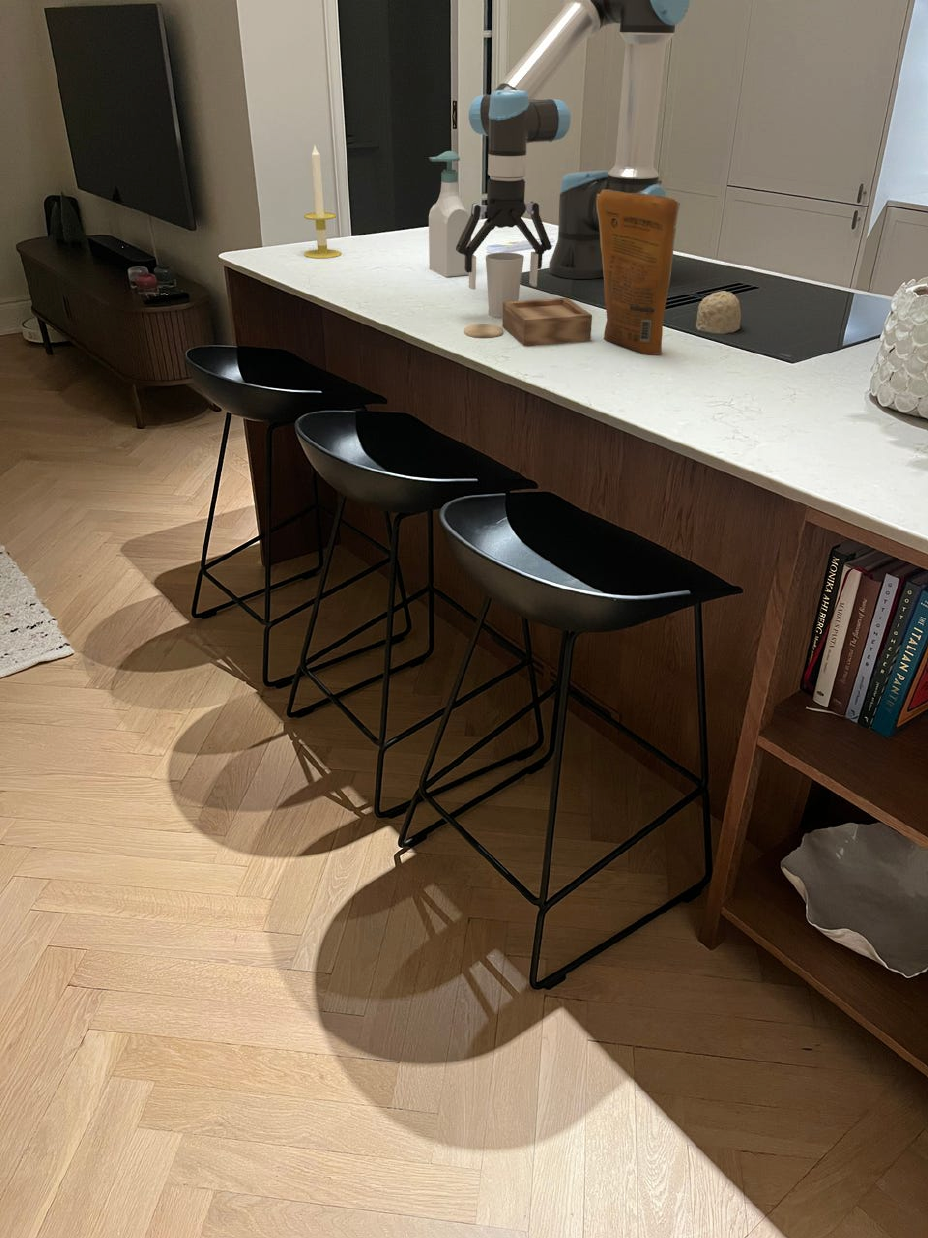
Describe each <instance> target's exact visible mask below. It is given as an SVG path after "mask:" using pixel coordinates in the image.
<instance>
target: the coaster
mask: <svg viewBox="0 0 928 1238" xmlns="http://www.w3.org/2000/svg"><path fill="white" fill-rule="evenodd" d="M463 334H464V335H466V336H468V337H471V338H475V339H477V338H479V339H491V338H497V337H499V336H501V335H503V334H504V328H503V327H502V326H499V325H497V324H491V323H476V324H469V325H466V326H465V327H464V328H463Z"/></svg>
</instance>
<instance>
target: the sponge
mask: <svg viewBox="0 0 928 1238" xmlns="http://www.w3.org/2000/svg"><path fill="white" fill-rule="evenodd" d="M696 313H697V314H696V322H695V328H696V329H697V330H698V331H702V332H705V333H712V334H729V333H734V332H737V330H738V331H739V329H741V327H740V326H741V324H740V323H741V317H742V315H741V314H742V313H741V306H740V300H739V299H738V298H737V296H736V295H735V294H733V293H732V292H730V291H725V290H724V291H723V290H721V291H717V292H714V293H711V294H709V295H707V296H705V297H704V298H702V300H701V301H699V304H698V307H697V312H696Z"/></svg>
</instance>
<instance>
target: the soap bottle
mask: <svg viewBox="0 0 928 1238" xmlns="http://www.w3.org/2000/svg"><path fill="white" fill-rule="evenodd" d="M428 159H429V161H431V162H433V163H434V162H446V169H443V170H442V172H441V174H440V175H441V181H440V183H441V184H440V192H439V195H438V198H437V201H436V203H434V204H433V205H432V207H431V208H430V210H429V215H428V240H429V241H428V242H429V243H428V246H429V249H428V251H429V253H428V254H429V269H430V268H431V269H430V270H432V269H433V270H432V271H434V272H435V271H436V272H435V273H437V272H438V273H437V274H439V273H440V274H439V275H441V276H443V277H445V278H453V277H462V276H469V272H466V271H465V269H464V266H465V256H464V254H460V253H459V252H458V251H456V246H457V244H458V242H459V240H460V237H461V235H462V233H463V231H464V229H465V227H466V224H467V222H468V220H469V218H470V216H471V215H469V213H468V212H467V210H466V209H465V206H464V204H463V201H462V199H461V196H460V192H459V191H460V190H459V182H458V179H459V178H458V174H459V173H458V171H456V169H453V162H459V161H461V157H460V156H459V155H458V154H457V153H456V152H455V151H452V150H447V151H444V152H442V153H440V154H439V155H437V156H433V157H431V156H430V157H428ZM471 241H472V237H471V238H470V240H469V242H468V245H469V243H470V242H471ZM468 245H467V246H468Z"/></svg>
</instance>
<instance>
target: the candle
mask: <svg viewBox="0 0 928 1238" xmlns="http://www.w3.org/2000/svg"><path fill="white" fill-rule="evenodd" d="M310 156H311V167H312V179H313V180H312V181H313V191H314V192H313V193H314V205H315V207H314V208H315V212H311V213H305V214H304V215H303V218H304V219H306V220H312V221H315V227H316V228H315V230H316V242H317V244H316V245H317V249H312V250H308V251H306V252H304V254H303V256H304V257H306V258H310V259H317V260H318V259H319V260H320V259H321V260H322V259H323V260H324V259H333V258H334V259H335V258H338V257H340V256H342V252H341V251H340V250H335V249H331V248H330V249H328V241H327V227H326V226H327V225H326V220H332V219H335V218H336V217H337V214H336V213H332V212H325V211H324V210H325V209H324V208H325V207H324V206H325V205H324V195H323V183H322V182H323V181H322V179H323V178H322V167H321V165H322V164H321V153H320V152H319V151H318V148H317V145H316V143H315V142H314V145H313V150H312V153H311V155H310Z"/></svg>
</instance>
